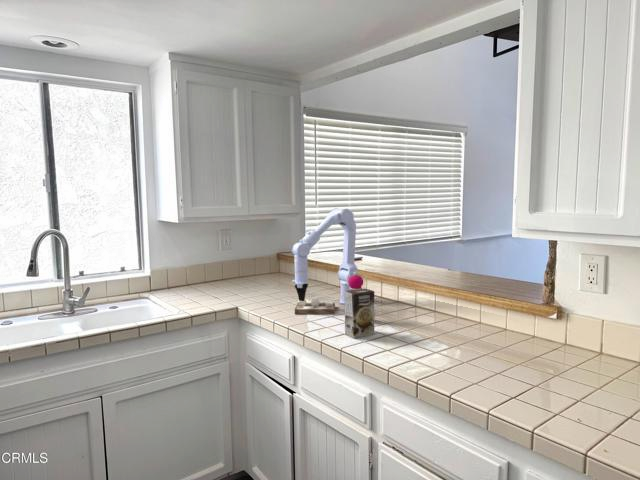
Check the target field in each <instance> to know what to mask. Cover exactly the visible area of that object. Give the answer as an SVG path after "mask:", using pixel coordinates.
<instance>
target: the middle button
mask: <svg viewBox="0 0 640 480" xmlns="http://www.w3.org/2000/svg"><path fill="white" fill-rule="evenodd" d="M311 303H312V306H319V303H320V298H311Z"/></svg>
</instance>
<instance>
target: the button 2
mask: <svg viewBox="0 0 640 480" xmlns="http://www.w3.org/2000/svg"><path fill="white" fill-rule="evenodd" d="M324 303H325V306H333V303H334V301H325V302H324Z"/></svg>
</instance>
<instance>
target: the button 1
mask: <svg viewBox="0 0 640 480" xmlns="http://www.w3.org/2000/svg"><path fill="white" fill-rule="evenodd" d="M297 303H298V306H306V303H307V299H305V300H304V301H299V299H298V301H297Z"/></svg>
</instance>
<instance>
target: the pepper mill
mask: <svg viewBox="0 0 640 480" xmlns="http://www.w3.org/2000/svg"><path fill="white" fill-rule="evenodd" d="M353 274H354V276H351V277H350V278H349V280H348V284H349V286H350V290H357V289H363V287H362V286H363V285H364V278H363V277H362V276H360V275H359V276H358V274H359V271H358V272H354V273H353Z"/></svg>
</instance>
